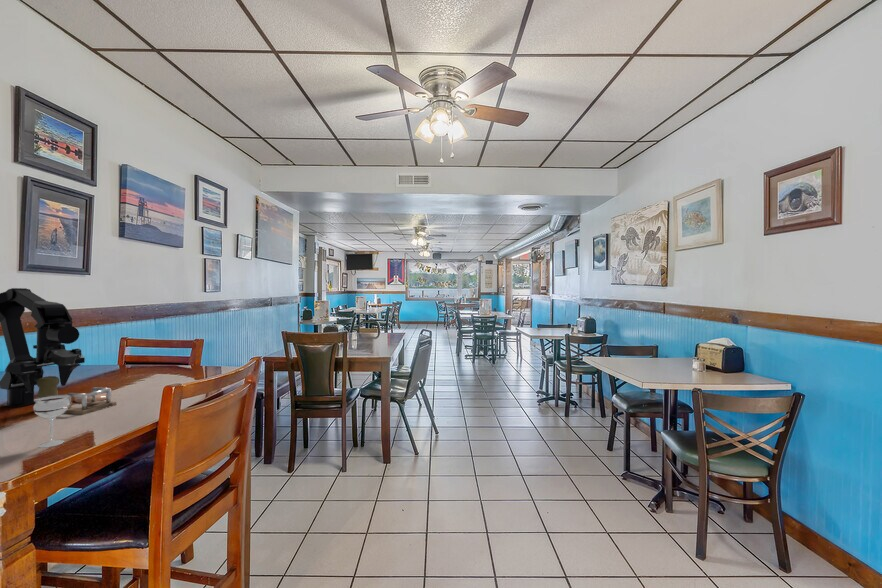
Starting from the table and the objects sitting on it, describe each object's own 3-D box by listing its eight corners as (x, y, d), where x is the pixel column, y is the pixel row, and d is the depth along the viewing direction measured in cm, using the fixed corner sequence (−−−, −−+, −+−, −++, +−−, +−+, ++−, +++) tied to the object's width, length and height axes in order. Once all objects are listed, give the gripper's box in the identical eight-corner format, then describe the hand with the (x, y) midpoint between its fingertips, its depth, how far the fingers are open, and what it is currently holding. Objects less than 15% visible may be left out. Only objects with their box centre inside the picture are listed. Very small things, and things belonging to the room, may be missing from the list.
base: (59, 412, 126) (59, 409, 126) (94, 403, 136) (94, 400, 136) (83, 414, 124) (83, 411, 124) (116, 404, 135) (116, 402, 135)
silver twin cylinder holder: (64, 408, 126) (65, 393, 126) (93, 401, 135) (94, 386, 135) (83, 410, 125) (84, 394, 125) (111, 402, 134) (112, 387, 134)
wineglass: (70, 443, 101) (71, 397, 101) (32, 451, 96) (33, 402, 96) (67, 436, 106) (68, 393, 106) (31, 443, 100) (32, 397, 100)
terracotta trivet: (66, 401, 137) (67, 399, 137) (95, 394, 147) (95, 392, 147) (91, 403, 136) (91, 400, 136) (118, 396, 146) (118, 393, 146)
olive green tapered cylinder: (65, 407, 131) (66, 375, 131) (45, 413, 125) (46, 379, 125) (49, 406, 131) (50, 374, 131) (28, 412, 125) (29, 378, 125)
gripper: (36, 346, 118) (35, 397, 118) (98, 339, 136) (97, 384, 136) (6, 344, 119) (4, 395, 119) (71, 338, 138) (70, 382, 138)
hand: (47, 388), depth 128 cm, fingers open, 9 cm apart
